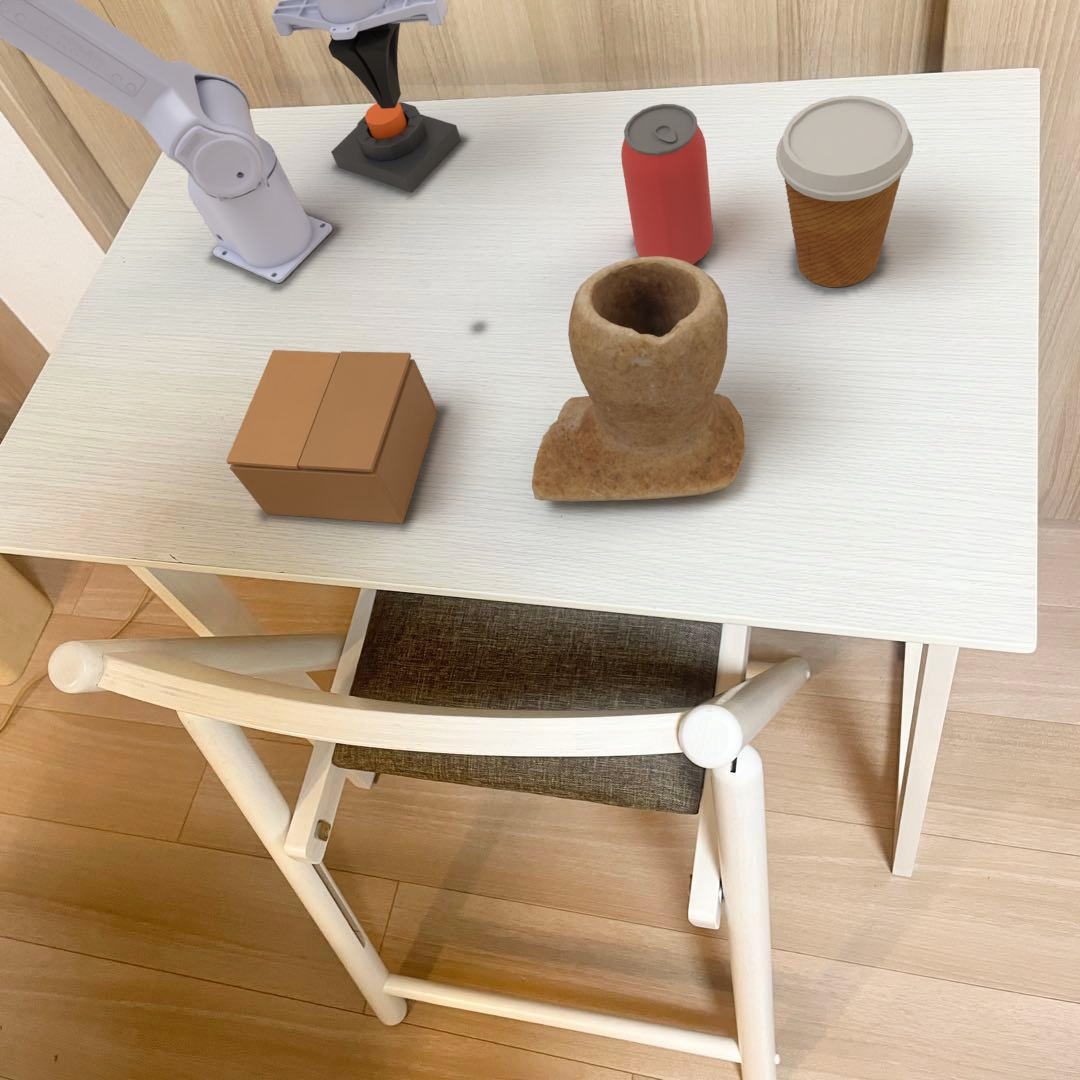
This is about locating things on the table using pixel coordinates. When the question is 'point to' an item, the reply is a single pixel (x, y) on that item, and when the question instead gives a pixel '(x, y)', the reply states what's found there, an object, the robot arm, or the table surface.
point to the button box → (398, 150)
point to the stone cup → (644, 390)
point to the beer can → (667, 183)
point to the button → (385, 121)
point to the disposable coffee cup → (842, 184)
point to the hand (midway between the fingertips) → (391, 101)
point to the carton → (355, 445)
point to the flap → (283, 409)
